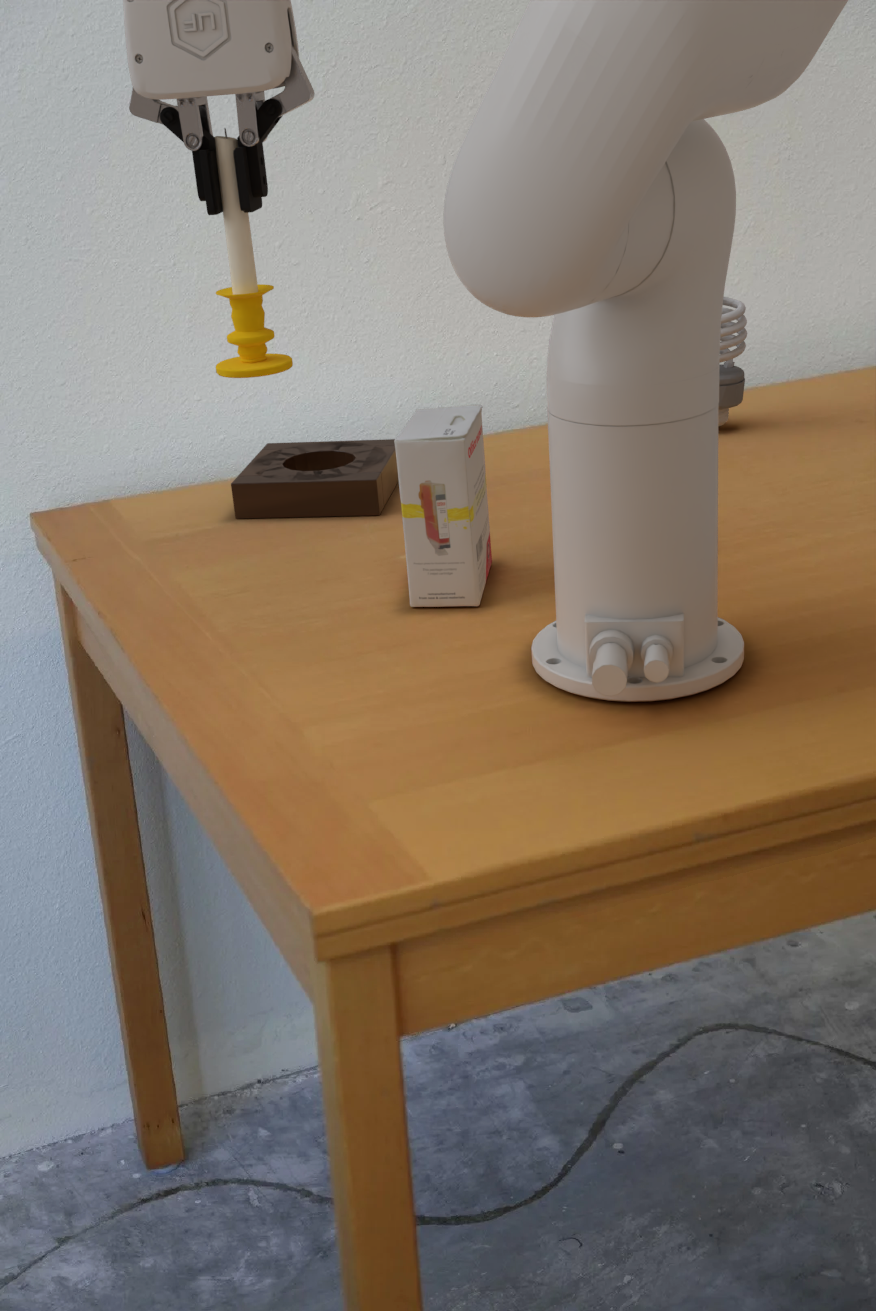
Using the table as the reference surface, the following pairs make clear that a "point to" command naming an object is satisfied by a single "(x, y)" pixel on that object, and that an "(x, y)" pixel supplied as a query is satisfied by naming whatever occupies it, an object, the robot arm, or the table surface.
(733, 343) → the light bulb
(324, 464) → the holder
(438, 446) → the ink box
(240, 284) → the candle
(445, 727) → the table surface
